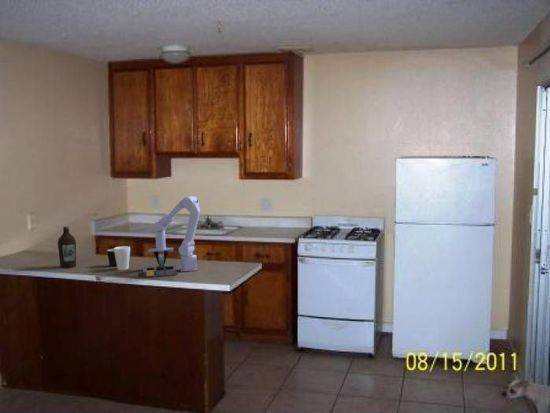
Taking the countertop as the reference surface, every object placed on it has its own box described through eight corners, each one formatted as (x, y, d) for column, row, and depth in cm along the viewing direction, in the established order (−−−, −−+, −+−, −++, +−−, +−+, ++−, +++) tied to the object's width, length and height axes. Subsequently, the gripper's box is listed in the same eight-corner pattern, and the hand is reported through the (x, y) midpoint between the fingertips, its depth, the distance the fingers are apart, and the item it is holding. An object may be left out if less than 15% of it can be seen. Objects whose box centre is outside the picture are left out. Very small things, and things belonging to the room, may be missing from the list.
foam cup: (118, 271, 342) (117, 249, 341) (112, 268, 349) (111, 247, 348) (133, 269, 348) (132, 247, 346) (127, 266, 355) (126, 245, 354)
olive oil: (57, 266, 359) (55, 226, 356) (74, 264, 365) (72, 225, 362) (61, 269, 350) (59, 228, 347) (79, 267, 356) (77, 227, 353)
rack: (176, 270, 341) (176, 265, 341) (177, 275, 328) (176, 269, 328) (143, 272, 338) (143, 266, 337) (143, 277, 325) (142, 271, 324)
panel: (164, 267, 351) (163, 254, 350) (164, 269, 344) (163, 256, 343) (159, 267, 351) (158, 254, 350) (159, 270, 343) (158, 257, 342)
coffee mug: (108, 267, 352) (107, 251, 351) (107, 265, 360) (106, 249, 359) (127, 266, 357) (127, 250, 356) (126, 263, 365) (125, 247, 363)
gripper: (172, 239, 351) (173, 261, 352) (148, 240, 348) (149, 263, 349) (173, 241, 344) (173, 263, 345) (148, 242, 341) (149, 265, 342)
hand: (161, 263), depth 347 cm, fingers closed on panel, 3 cm apart
